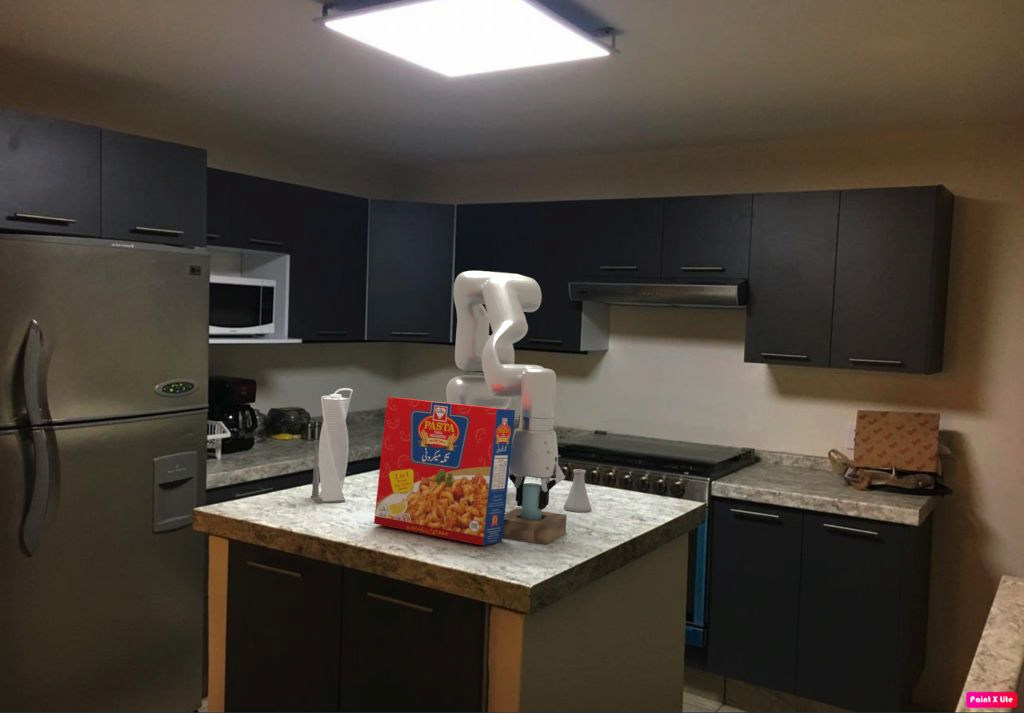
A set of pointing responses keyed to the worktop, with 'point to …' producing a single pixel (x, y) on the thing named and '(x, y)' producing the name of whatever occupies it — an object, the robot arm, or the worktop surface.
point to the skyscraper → (332, 450)
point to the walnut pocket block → (534, 527)
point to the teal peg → (531, 501)
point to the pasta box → (445, 469)
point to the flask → (578, 494)
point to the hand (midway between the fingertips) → (531, 505)
